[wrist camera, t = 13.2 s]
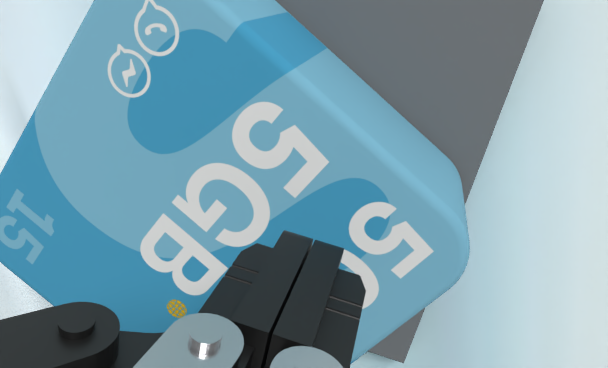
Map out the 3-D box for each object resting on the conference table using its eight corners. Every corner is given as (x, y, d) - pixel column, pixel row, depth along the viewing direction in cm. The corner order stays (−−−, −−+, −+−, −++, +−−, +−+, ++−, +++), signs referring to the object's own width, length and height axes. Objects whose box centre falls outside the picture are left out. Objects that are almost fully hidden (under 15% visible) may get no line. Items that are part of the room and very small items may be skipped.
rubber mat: (537, -2, 15) (544, -1, 14) (405, 346, 21) (403, 363, 20) (286, -59, 16) (278, -62, 15) (227, 287, 22) (218, 300, 21)
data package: (130, -78, 12) (499, 255, 13) (208, -63, 16) (483, 188, 17) (-38, 236, 17) (233, 456, 18) (54, 186, 21) (270, 368, 22)
